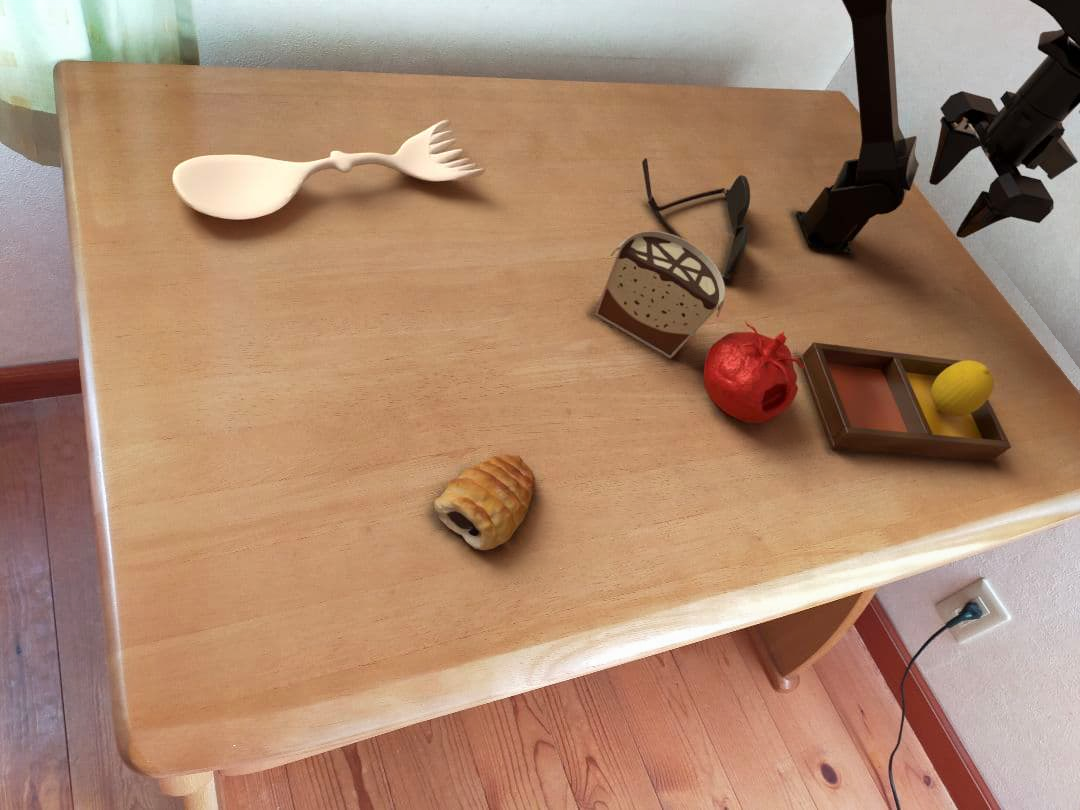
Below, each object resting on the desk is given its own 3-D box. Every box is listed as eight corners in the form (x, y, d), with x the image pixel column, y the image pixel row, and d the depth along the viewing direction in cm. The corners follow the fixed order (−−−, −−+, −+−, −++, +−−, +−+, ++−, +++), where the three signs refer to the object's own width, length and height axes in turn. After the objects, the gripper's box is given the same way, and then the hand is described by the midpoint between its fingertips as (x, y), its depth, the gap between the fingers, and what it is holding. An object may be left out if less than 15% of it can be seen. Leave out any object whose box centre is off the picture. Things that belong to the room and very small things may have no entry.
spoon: (481, 192, 99) (489, 168, 96) (192, 240, 82) (192, 212, 80) (443, 139, 102) (450, 114, 100) (159, 174, 86) (158, 146, 83)
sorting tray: (830, 448, 93) (847, 432, 91) (798, 359, 100) (813, 342, 97) (992, 461, 100) (1012, 447, 98) (952, 377, 107) (969, 361, 104)
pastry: (490, 448, 79) (502, 425, 76) (548, 495, 78) (563, 473, 75) (425, 513, 73) (435, 491, 70) (487, 565, 72) (500, 545, 70)
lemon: (961, 435, 100) (1012, 395, 94) (918, 419, 99) (967, 377, 93) (956, 399, 103) (1004, 358, 97) (914, 383, 103) (961, 340, 96)
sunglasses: (634, 160, 112) (649, 129, 108) (736, 199, 114) (755, 170, 110) (622, 246, 101) (639, 215, 98) (735, 287, 104) (756, 258, 100)
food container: (699, 331, 97) (743, 269, 90) (682, 366, 93) (727, 304, 86) (602, 275, 97) (638, 208, 90) (582, 307, 93) (617, 240, 86)
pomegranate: (676, 392, 91) (718, 335, 84) (715, 342, 97) (757, 285, 90) (754, 450, 89) (804, 398, 82) (789, 396, 96) (838, 343, 89)
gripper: (1139, 175, 92) (1028, 276, 103) (1062, 67, 102) (970, 170, 114) (1057, 154, 88) (952, 261, 100) (987, 44, 99) (899, 153, 111)
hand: (945, 209), depth 106 cm, fingers open, 9 cm apart
